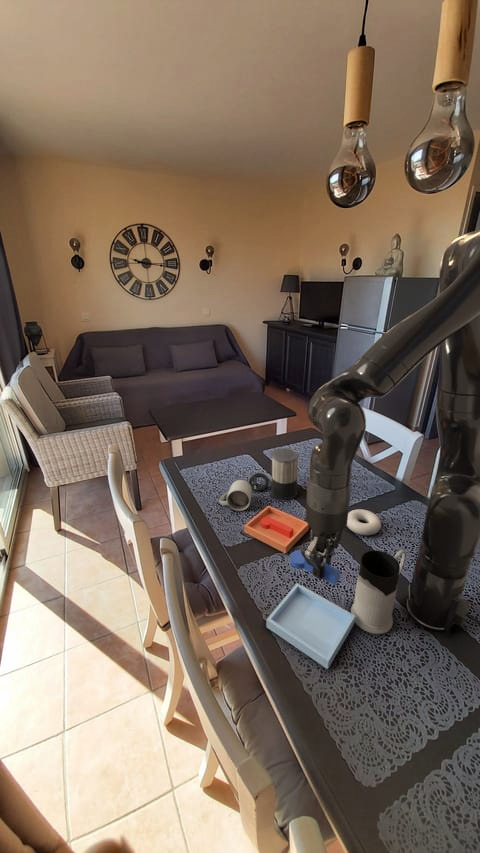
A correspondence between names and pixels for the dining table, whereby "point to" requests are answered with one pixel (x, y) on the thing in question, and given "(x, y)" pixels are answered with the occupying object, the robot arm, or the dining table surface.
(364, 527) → the donut
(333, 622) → the blue tray
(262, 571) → the dining table surface
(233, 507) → the ceramic mug
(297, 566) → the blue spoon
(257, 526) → the terracotta tray
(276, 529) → the red spoon
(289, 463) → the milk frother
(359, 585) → the grey pitcher
